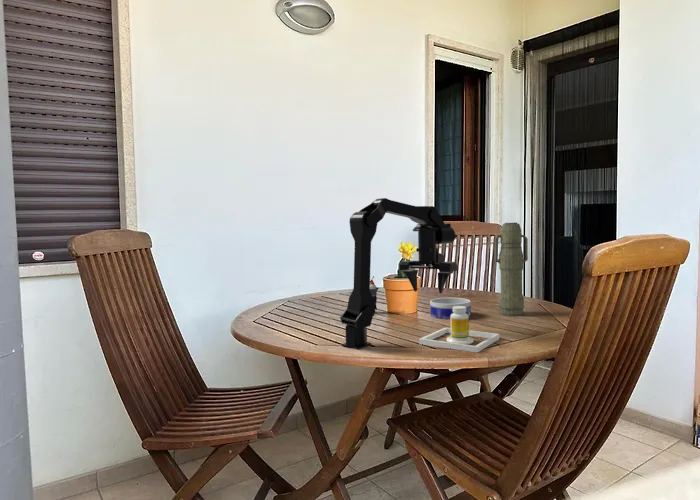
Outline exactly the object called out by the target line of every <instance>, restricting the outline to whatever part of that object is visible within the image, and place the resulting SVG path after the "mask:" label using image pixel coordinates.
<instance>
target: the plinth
mask: <svg viewBox="0 0 700 500" xmlns="http://www.w3.org/2000/svg"><path fill="white" fill-rule="evenodd" d="M445 339H446V341H445V342H451V343H458V344H465V345H471V344H473V343H474V342H475V341H474V340H475V339H474V338H473V336H469V338H468V339H467V340H462V341H459V340H453V339H451V335H450V336H447V337H445Z"/></svg>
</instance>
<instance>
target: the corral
mask: <svg viewBox="0 0 700 500" xmlns="http://www.w3.org/2000/svg"><path fill="white" fill-rule="evenodd" d="M445 333H446V334H451V327H443V328H440V329H439V330H437V331H434V332H431V333H429V334H427V335H425V336H423V337H420V338H419V339H418V344H419V345H422V344H423V345H424V346H430V347H437V348H444V349H445V348H446V349H450V348H451V349H452V350H456V351H457V350H458V351H464V352H472V353H479V352H481V351H482V350H484V349H485V348H487V347H490V346H491V345H492V344H494V343H495V342H497V341H498V340H499V339H500V338H501V337H500V335H501V334H500V333H496V332H488V331H478V330H470V329H469V337H476V338H477V337H478V338H484V339H485V340H483V341H481V342H479V343H477V344H476V345H471V344H467V345H465V344H458V343H451V342H447V341H441V340H435V339H436V338H438V337H441V336H444V335H445ZM423 345H422V346H423ZM451 349H450V350H451Z"/></svg>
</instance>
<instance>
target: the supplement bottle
mask: <svg viewBox="0 0 700 500" xmlns="http://www.w3.org/2000/svg"><path fill="white" fill-rule="evenodd" d="M453 312H454V313H453V314H451V316H450V328H451V333H450V336H451V339H453V340H459V341H462V340H467V339H468V338H469V337H470V336H469V330H470V329H469V328H470V325H469V324H470V322H469V321H470V320H469V318H470V317H469V316H468V314H466V313H465V312H466V307H464V306H454V307H453Z"/></svg>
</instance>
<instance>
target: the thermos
mask: <svg viewBox="0 0 700 500" xmlns="http://www.w3.org/2000/svg"><path fill="white" fill-rule="evenodd" d="M522 238H523V247H522ZM499 239H500V252H499V250H498V249H499V245H498V240H499ZM528 241H529V240H528V238H527V237H526V235H525V234H522V227H521V225H520V223H518V222H504V223H503V224H502V225H501V229H500V234H497V235H496V236H495V237H494V262H496V263H497V264H498V265H499V267H498V268H499V272H500V293H499V297H498V298H499V299H498V300H499V314H500V315H501V316H505V317H507V316H508V317H520V316H523V315H524V308H525V297H524V294H523V271H524V264H525V263H526V262H527V261H528V260H529V259H528V258H529V257H528V254H529V251H528V249H529V248H528ZM522 248H523V249H522ZM523 251H524V252H523Z"/></svg>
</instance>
